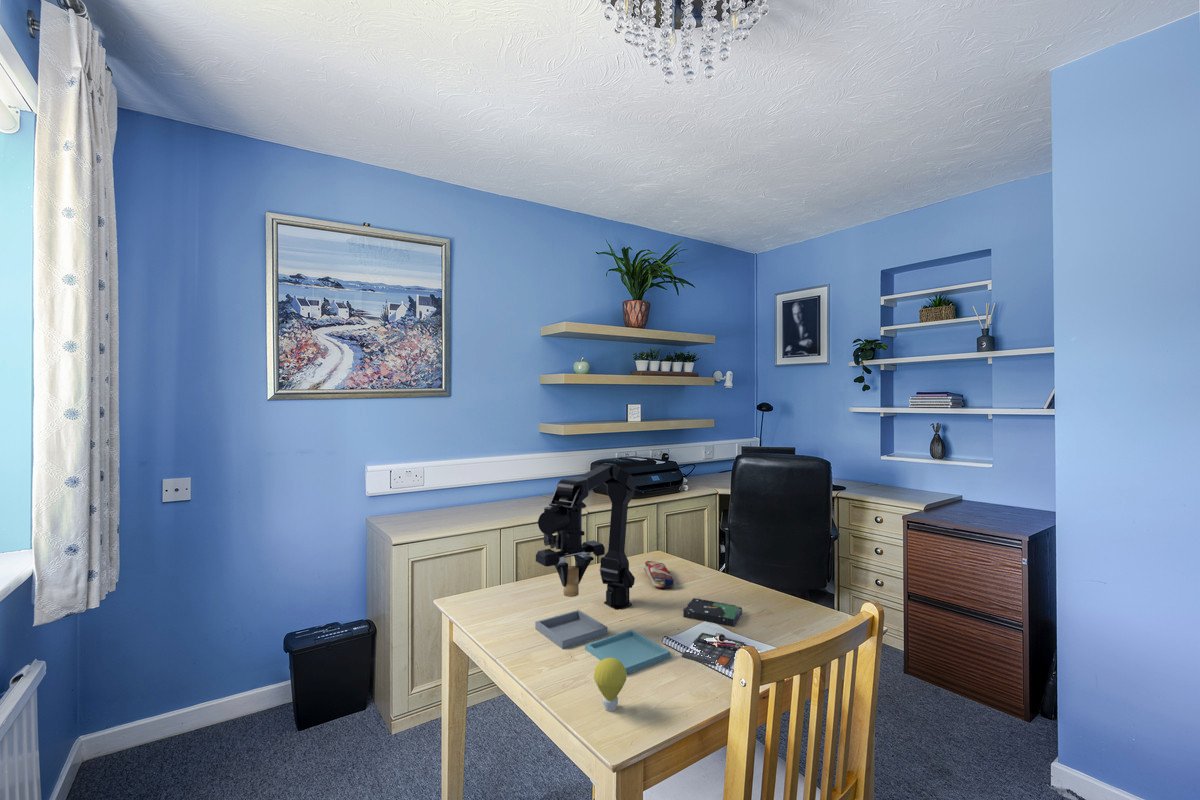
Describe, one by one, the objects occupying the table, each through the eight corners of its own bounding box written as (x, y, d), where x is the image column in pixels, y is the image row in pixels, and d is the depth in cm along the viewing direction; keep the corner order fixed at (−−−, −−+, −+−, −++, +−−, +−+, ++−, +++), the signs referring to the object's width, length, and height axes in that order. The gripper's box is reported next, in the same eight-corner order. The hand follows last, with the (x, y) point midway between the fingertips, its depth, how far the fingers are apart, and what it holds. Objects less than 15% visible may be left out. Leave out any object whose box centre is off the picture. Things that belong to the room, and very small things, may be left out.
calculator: (680, 654, 132) (702, 631, 145) (680, 658, 132) (702, 635, 145) (727, 667, 126) (745, 641, 139) (727, 671, 126) (745, 645, 139)
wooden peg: (573, 590, 148) (573, 564, 148) (581, 594, 145) (581, 568, 145) (560, 593, 146) (560, 567, 146) (568, 598, 143) (568, 571, 143)
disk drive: (682, 619, 156) (734, 629, 149) (682, 609, 156) (734, 618, 149) (693, 606, 165) (742, 615, 158) (693, 597, 165) (742, 605, 158)
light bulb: (592, 699, 114) (592, 652, 114) (624, 698, 115) (624, 651, 114) (595, 718, 107) (595, 668, 107) (628, 716, 108) (628, 667, 108)
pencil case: (675, 572, 195) (675, 558, 195) (674, 592, 176) (674, 577, 176) (644, 571, 197) (644, 557, 197) (640, 590, 178) (640, 575, 177)
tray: (631, 635, 144) (631, 629, 144) (670, 657, 132) (670, 651, 132) (585, 650, 136) (585, 644, 136) (621, 676, 123) (621, 669, 123)
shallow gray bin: (578, 617, 155) (578, 609, 155) (607, 635, 144) (607, 627, 144) (535, 630, 147) (535, 621, 147) (562, 650, 136) (562, 640, 136)
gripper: (583, 516, 157) (583, 570, 157) (525, 525, 146) (525, 583, 147) (606, 524, 148) (606, 581, 148) (546, 534, 137) (546, 595, 137)
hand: (571, 584), depth 145 cm, fingers closed on wooden peg, 4 cm apart
